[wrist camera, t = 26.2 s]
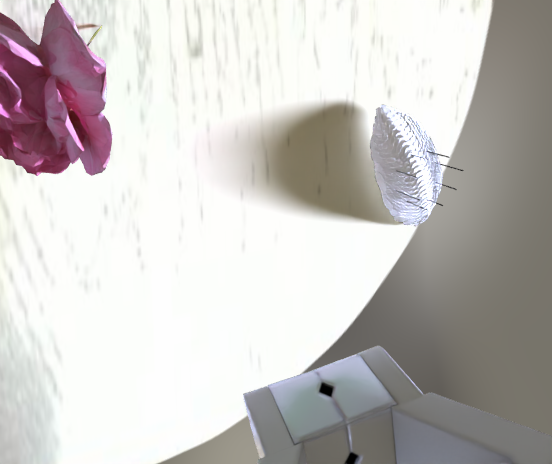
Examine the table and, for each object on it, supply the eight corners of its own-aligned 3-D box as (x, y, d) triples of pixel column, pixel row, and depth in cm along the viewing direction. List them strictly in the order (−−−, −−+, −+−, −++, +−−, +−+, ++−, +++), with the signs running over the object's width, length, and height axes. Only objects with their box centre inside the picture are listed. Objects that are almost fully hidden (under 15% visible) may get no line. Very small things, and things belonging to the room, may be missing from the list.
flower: (31, 160, 36) (-106, 183, 27) (15, 16, 34) (-143, -12, 24) (166, 173, 33) (62, 204, 24) (161, 15, 30) (41, -18, 21)
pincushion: (345, 124, 39) (388, 135, 34) (404, 87, 40) (454, 92, 35) (389, 240, 45) (431, 263, 40) (440, 205, 46) (486, 223, 41)
